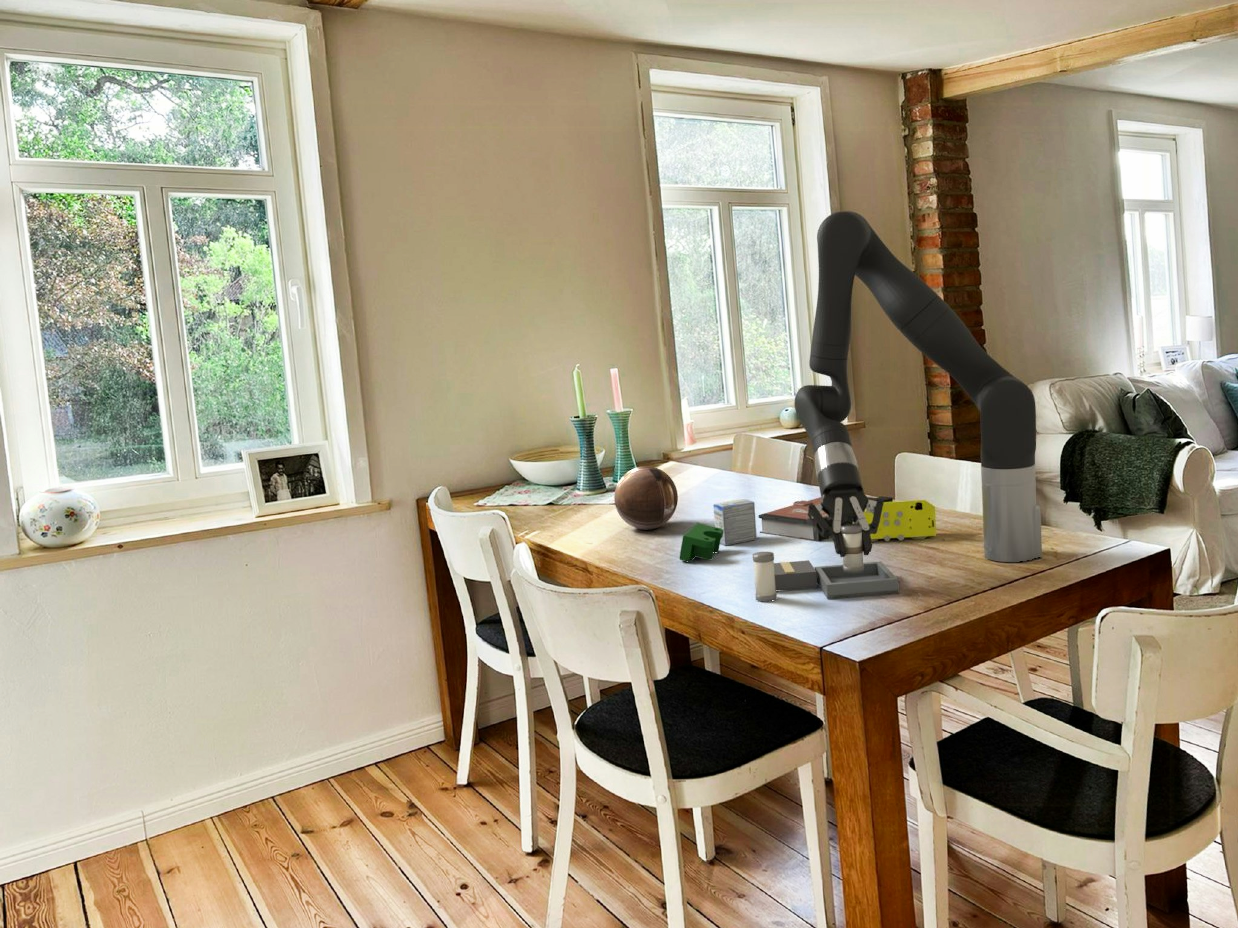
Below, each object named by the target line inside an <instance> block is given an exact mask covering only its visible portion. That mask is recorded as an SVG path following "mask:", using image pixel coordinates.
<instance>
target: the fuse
mask: <svg viewBox="0 0 1238 928" xmlns="http://www.w3.org/2000/svg"><path fill="white" fill-rule="evenodd" d="M752 561H753V571H754V572H753V573H754V582H755V583H754V585H755V601H756V600H758V601H757V602H759V601H772V600H775V601H776V600H777V599H778V597H777V595H778V594H777V593H778V592H777V591H776V587H775V573H774V563H775V562H774V561H775V553H774V552H772V551H756V552H754V553H753V554H752ZM776 598H777V599H776ZM772 602H773V601H772Z"/></svg>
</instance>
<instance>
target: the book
mask: <svg viewBox="0 0 1238 928" xmlns="http://www.w3.org/2000/svg"><path fill="white" fill-rule="evenodd" d="M867 497H868V500H873V501H877V500H878V499H882V500H883V501H884V502H894V501H893V497H890V496H882V495H881V496H878V497H871V496H867ZM821 500H822V498H821V496H819V497H816V498H812V499H809V500H797V501H794V502H792V503H793V504H792V505H789V506H784V507H783V508H779V509H775V510H772V511H771V510H770V511H767V512H765V513H762V514H758V519H761V527H762V528H761V531H759V533H760V534H766V535H772V536H777V537H784V538H785V537H786V538H790V539H791V538H792V539H797V540H798V539H799V540H805V541H812V542H816V543H817V542H818V543H819V542H820V543H821V542H823V541H826V540H829V538H830V537H826V538H824V537H822V536H821V534H820V533H819V531H818V530H817V528H816V527H815V525H814V524H813V522H812V521H811V519H810V518H809V517H808V508H809V505H811V504H813V505H818V504H820V503H821ZM822 517H823V518H824V520H825V521H826V523H827V524H828V525H829V527H833V519H832V518H831V517H830V516H828V515H827V514H826V513H825V512H824V511H823V510H822ZM845 524H853V522H848V521H847V522H843V523H841V526H842V525H845ZM840 533H841V530H840Z"/></svg>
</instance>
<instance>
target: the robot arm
mask: <svg viewBox="0 0 1238 928" xmlns="http://www.w3.org/2000/svg"><path fill="white" fill-rule="evenodd" d="M816 240H817V259H818V283H817V284H818V288H817V299H816V300H817V301H816V309H815V316H814V320H813V321H814V323H813V329H812V338H811V346H810V353H809V362H808V363H809V364H808V365H809V369H810V370H811V371H812V372H814V373H816V374H820V375H823V376H827V377H828V378H830V380H831V385H816V384H808V385H803V386H802V387H800V388H799V389H798V390H797V391H796V393H795V396H794V410H795V414H796V416H797V419H798V420H799V422H800V423H801V425H802V427H803V429H804V430H805V433H806V434H807V435H808V437H809V439H810V441H811V446H812V451H813V456H814V465H815V466H814V468H815V476H816V478H817V482H818V486H819V487H818V488H819V492H820V497H821V498H822V500H821V503H820V504H818V505H813V504H811V505H809V508H808V517H809V518H810V519H811V521H812V522H813V524H814V525H815V527H816V528H817V530H818V531H819V533H820V534H821V536H822V537H824V538H826V537H829V538H831V540H833V546H834V551H835V554H836V555H839V557H840V558H843V557H845V554H846V549H845V544H844V540H843V535H842V533H840V530H841V523H843V522H847V521H848V522H853V523H854V524H860V525H862V545H863V556H869V555H870V553H871V552H872V549H873V542H872V541H871V537H870V534H876V533H877V530H878V526H879V522H880V517H881V513H882V508H883V504H884V501H883V500H882V499H878V500H877V501H873V500H868V497H869V496H867V495H866V494H865V492H864V487H863V483H862V479H861V478H862V477H861V475H860V471H859V466H858V461H857V458H856V455H855V453H854V450H853V446H852V441H851V438H850V434H849V429H848V427H847V426H846V425H845V424H844V423H842V422H843V421H845V420H846V419H847V418H848V416H849V415H850V412H851V410H852V409H851V408H852V399H851V393H850V387H849V382H848V381H849V379H848V358H849V350H850V349H849V348H850V343H851V332H852V297H853V287H854V282H855V277H856V278H858V279H859V280H860V281H861V282H862V283H863V284H864V285H865V286H866V287H867V288H868V290H870V292H871V293H872V295H873V297H874V298H875V300H876V301H877V303H878V304H879V306H880V307H881V309H882V311H883V312H884V313H885V315H886V316H887V317H888V319H889V321H891V322H892V324H893V325H894V327H895V328H896V329H897V330H899V332H900V333H901V334H902V335H903V336H904V337H905V338H906V339H907V341H909V342H910V344H912V345H913V346H914V347H915V348H916V349H917V350H918V351H919V352H920V353H922V354H923V355H924V356H925V357H926V358H928V359H929V360H930V361H931V362H933V364H935V365H936V366H937V367H939V368H940V369H942V370H943V371H945V372H946V373H947V374H948V375H949V376H951V377H952V378H953V379H954V380H955V382H956V383H958V384H959V386H960V387H961V388H962V390H964V392H965V394H966V395H967V396H968V397H969V398H970V400H971V401H972V402H973V403H974V405H975V406H976V408H977V409H978V411H979V415H980V416H979V418H980V419H979V421H980V441H981V442H980V474H981V475H980V477H981V497H982V498H981V502H982V504H981V505H982V522H983V523H982V524H983V525H982V526H983V528H982V529H983V530H982V531H983V533H982V534H983V553H984V554H983V555H984V556H983V557H985V558H986V559H988V560H990V561H995V562H1000V563H1021V562H1020V561H1023V562H1028V561H1027V560H1029V561H1033V560H1035V559H1034V558H1036V559H1039V558H1038V557H1042V558H1043V547H1042V546H1043V545H1042V543H1043V540H1042V509H1041V506H1039V505H1038V504H1037V488H1036V487H1037V485H1036V483H1037V482H1036V481H1037V480H1036V451H1037V412H1036V411H1037V410H1036V400H1035V395H1034V393H1033V391H1032V390H1031V388H1030V387H1029V386H1028V385H1027V384H1026V383H1024V382H1023V381H1022V380H1021V379H1019V378H1017V376H1014V375H1013V374H1011V373H1010V372H1009V371H1008V370H1007V369H1005V368H1004V367H1003V366H1002V365H1001V364H999V362H997V361H996V360H995V359H994V358H993V357H992V356H990V355H989V354H988V353H987V351H985V350H984V349H983V348H982V346H981V345H980V344H979V343H978V341H977V340H976V338H975V337H974V336H973V334H972V332H971V330H969V328H968V326H967V325H965V324H966V323H964V321H963V320H962V319H961V317H959V316H958V314H957V313H956V312H955V311H954V309H952V308H951V307H950V306H949V304H948V303H947V302H946V301H945V300H943V298H942V297H941V296H940V295H938V293H937V292H936V291H935V290H933V289H932V288H931V286H929V285H928V284H927V283H926V282H925V281H924V280H923V279H921V278H920V277H919V276H918V275H917V274H916V273H915V272H913V271H912V269H910V268H908V267H907V266H906V265H904V263H903V262H901V261H900V260H899V259H898V258H897V256H895V255H894V254H893V252H892V251H890V249H889V248H888V247H887V245H886V244H885V243H884V242H883V241H882V240H881V238H880V237H879V235H878V234H877V233H876V231H875V230H874V229H873V227H872V226H871V225H870V223H869V221H868V220H867V219H866V218H865V217H864V216H862V215H861V214H859V213H858V212H854V211H851V210H843V211H842V210H841V211H837V212H834V213H832V214H830V215H828V216H827V217H826V218H824V219H823V220H822V222H821V224H820V225H819V227H818V230H817V233H816ZM866 507H869V508H870V512H871V513H872V514H874V515H873V520H872V523H871V524H868V523H867V522H866V519H865V515H864V513H863V512H864V511H865V509H866ZM822 510H823V511H824V512H825V513H826V514H827V515H828V516H830V517H831V518H832V519H833V527H829V525H828V524H827V523H826V521H825V520H824V518H823V517H822ZM1032 559H1033V560H1032Z"/></svg>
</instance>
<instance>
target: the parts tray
mask: <svg viewBox="0 0 1238 928" xmlns="http://www.w3.org/2000/svg"><path fill="white" fill-rule="evenodd" d="M863 564H864V572H861V573H854V574H852V573H845V572H843V564H834V565H833V564H832V565H821V566H813V567H814V569H815V570H816V574H817V586H819V589H821V591H822V593H823V594H824V596H825V597H826V599H827V600H835V599H845V598H847V599H848V598H859V597H860V598H861V597H872V596H873V597H874V596H883V595H884V596H885V595H896V594H897V595H898V594H899V593H900V590H899V578H898V577H897V576H896V575H895V574H894V573H893V572H892V571H890V569H889V568H888V567H887V565H885V564H884V563H883V561H871V562H870V561H869V562H863Z"/></svg>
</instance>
